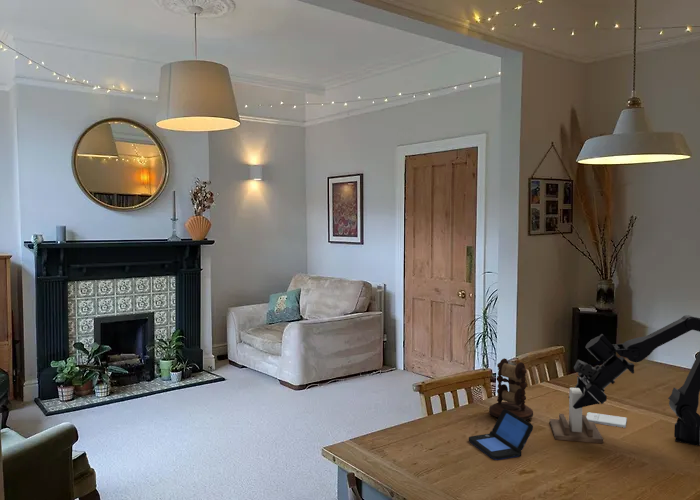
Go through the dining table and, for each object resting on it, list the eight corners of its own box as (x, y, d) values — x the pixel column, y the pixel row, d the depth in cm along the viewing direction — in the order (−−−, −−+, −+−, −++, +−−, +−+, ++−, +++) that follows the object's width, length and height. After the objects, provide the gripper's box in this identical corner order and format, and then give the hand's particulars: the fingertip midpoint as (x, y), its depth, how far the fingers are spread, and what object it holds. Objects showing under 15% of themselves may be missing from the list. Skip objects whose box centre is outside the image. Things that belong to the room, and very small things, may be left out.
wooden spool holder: (541, 417, 197) (542, 360, 196) (516, 428, 188) (517, 368, 187) (505, 406, 209) (506, 353, 207) (480, 416, 199) (481, 359, 198)
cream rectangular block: (578, 425, 186) (579, 388, 186) (581, 432, 181) (582, 393, 180) (568, 424, 187) (569, 387, 186) (571, 431, 181) (572, 393, 180)
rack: (593, 425, 190) (594, 414, 189) (603, 443, 175) (603, 431, 175) (549, 422, 193) (549, 411, 192) (555, 439, 178) (555, 428, 178)
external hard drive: (625, 429, 187) (585, 423, 193) (626, 421, 195) (587, 415, 201) (625, 425, 187) (585, 418, 193) (627, 417, 195) (587, 411, 200)
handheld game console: (466, 441, 178) (467, 412, 177) (503, 435, 182) (504, 407, 181) (494, 461, 163) (495, 430, 162) (534, 455, 167) (534, 424, 166)
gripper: (585, 346, 190) (549, 376, 194) (596, 360, 172) (557, 393, 175) (609, 370, 189) (573, 400, 192) (623, 387, 171) (583, 420, 174)
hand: (571, 403), depth 184 cm, fingers open, 9 cm apart
